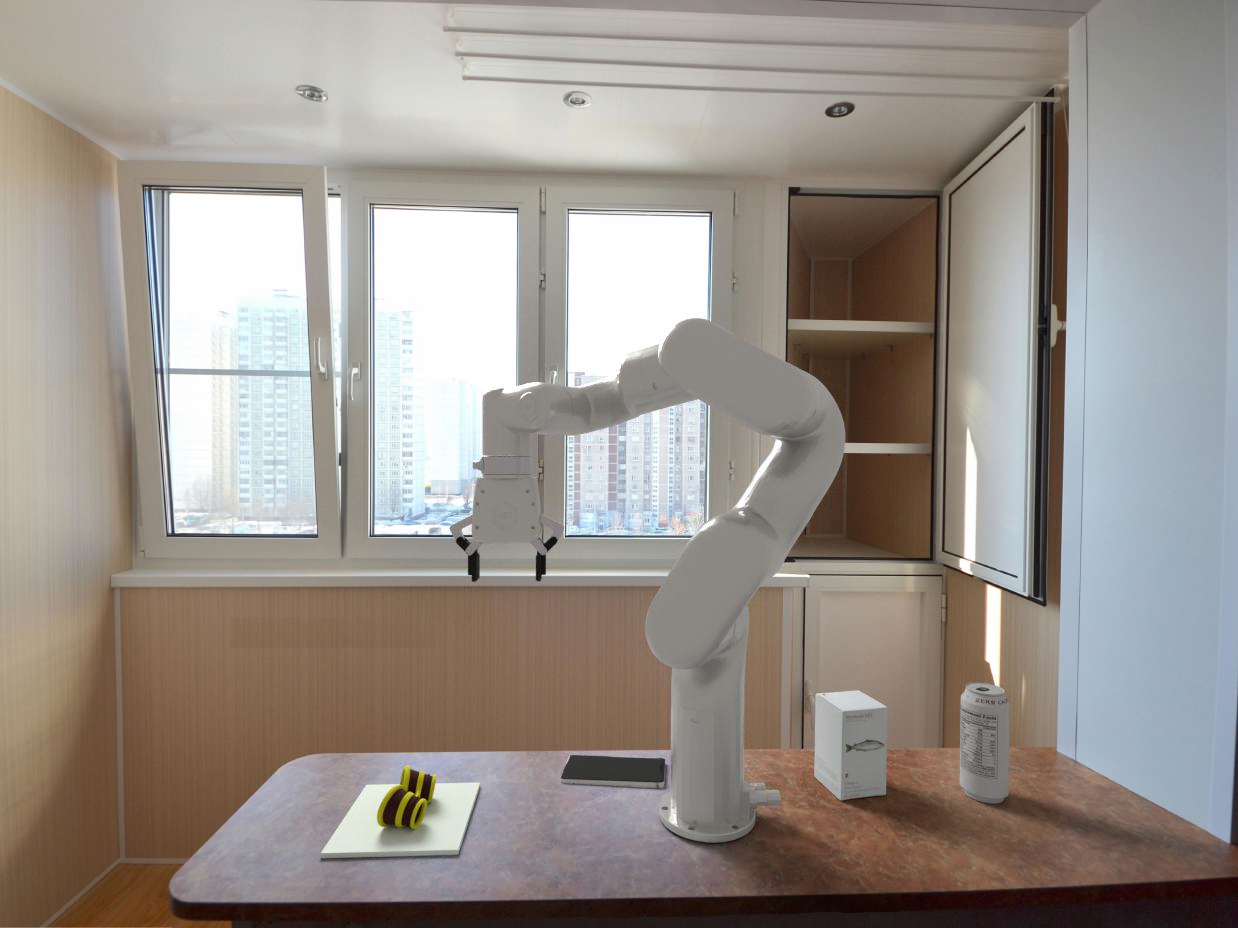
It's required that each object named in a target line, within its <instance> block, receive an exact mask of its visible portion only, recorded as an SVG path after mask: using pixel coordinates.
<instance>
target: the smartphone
mask: <svg viewBox="0 0 1238 928" xmlns="http://www.w3.org/2000/svg"><path fill="white" fill-rule="evenodd" d="M567 757H568V758H567V760H566V763H565V765H564V767H563V768H564V769H563V770H562V773H561V776H560V783H562V784H572V785H573V783H575V784H576V785H591V784H592V785H595V786H615V787H632V788H640V789H641V788H642V789H648V788H649V789H650V788H652V789H653V788H654V789H655V788H656V789H662V788H664V787H665V777H666V773H665V772H666V759H665V758H663V757H640V756H618V755H617V756H612V755H611V756H610V755H609V756H608V755H588V754H586V755H579V754H571V755H568V756H567ZM578 783H579V784H578Z"/></svg>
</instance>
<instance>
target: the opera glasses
mask: <svg viewBox="0 0 1238 928" xmlns="http://www.w3.org/2000/svg"><path fill="white" fill-rule="evenodd" d="M437 776H438V775H437V774H433V775H430V773H428V774H426V771H422V770H419V771H418V770H414V769H411V766H410V765H408V764H407V765H405V766H404V768H403V769H402V773H401V776H400V782H399V784H400V785H396V786H394V787H393V788H391V789H390V790H389V791H388V793H387V794H386V795H385V797H384V798H383V800H382V802H381V804H380V806H379V809H378V813H377V822H378V824H379V825H380V826H381V827H387V826H389V825H396V827H404V826H406V827H409V826H410V827H411V828H412V829H417V828H418V827H419V826H420V824H421V822H422V820H423V818H424V815H425V812H426V808H427V801H428V803H432V798H433V793H434V788H435V783H437Z"/></svg>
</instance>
